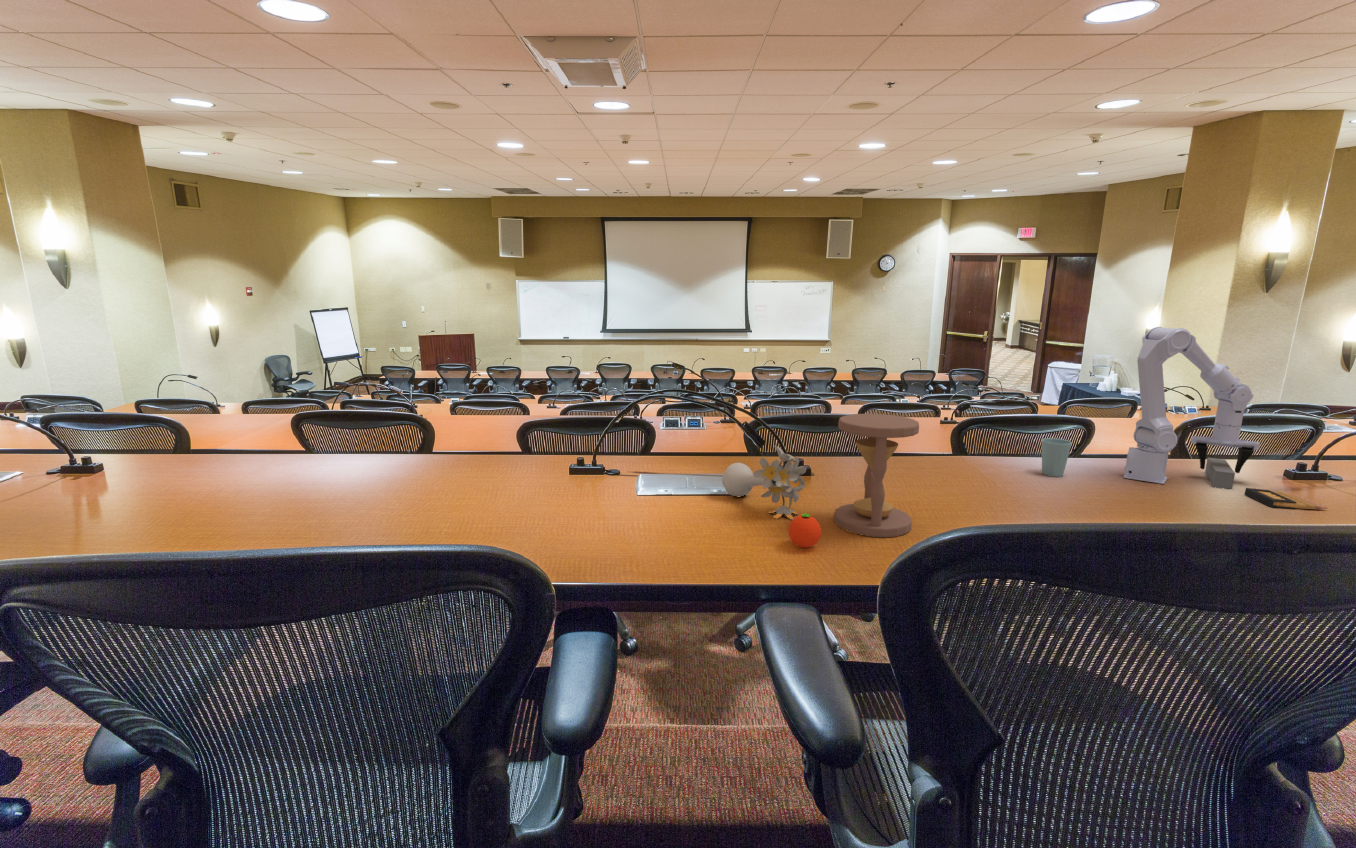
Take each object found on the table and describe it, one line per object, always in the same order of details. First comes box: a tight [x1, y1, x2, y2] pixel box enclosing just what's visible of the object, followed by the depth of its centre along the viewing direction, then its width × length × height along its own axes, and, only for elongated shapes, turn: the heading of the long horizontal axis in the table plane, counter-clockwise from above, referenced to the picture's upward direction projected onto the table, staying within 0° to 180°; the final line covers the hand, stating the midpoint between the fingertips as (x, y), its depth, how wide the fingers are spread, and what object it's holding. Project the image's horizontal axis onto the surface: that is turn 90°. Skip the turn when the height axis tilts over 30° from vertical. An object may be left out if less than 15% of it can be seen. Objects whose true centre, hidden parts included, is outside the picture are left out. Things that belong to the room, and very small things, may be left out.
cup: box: [1041, 437, 1072, 478], centre depth 181 cm, size 8×8×10 cm
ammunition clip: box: [1244, 487, 1328, 510], centre depth 155 cm, size 11×2×12 cm
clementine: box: [787, 513, 822, 549], centre depth 129 cm, size 8×7×7 cm
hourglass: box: [833, 413, 920, 538], centre depth 139 cm, size 18×18×25 cm
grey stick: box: [1204, 457, 1236, 490], centre depth 174 cm, size 4×18×5 cm, turn 145°
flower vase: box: [721, 445, 807, 515], centre depth 154 cm, size 13×18×25 cm
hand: (1219, 470), depth 175 cm, fingers open, 7 cm apart
